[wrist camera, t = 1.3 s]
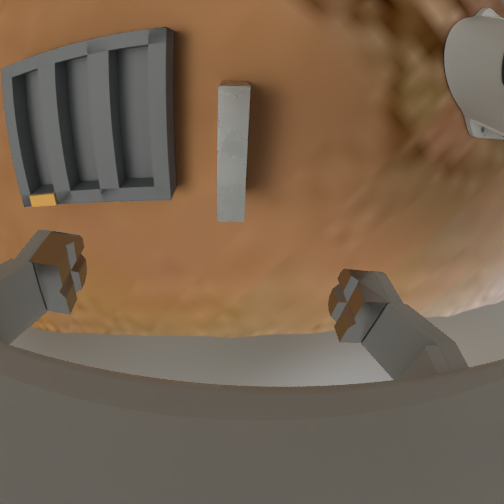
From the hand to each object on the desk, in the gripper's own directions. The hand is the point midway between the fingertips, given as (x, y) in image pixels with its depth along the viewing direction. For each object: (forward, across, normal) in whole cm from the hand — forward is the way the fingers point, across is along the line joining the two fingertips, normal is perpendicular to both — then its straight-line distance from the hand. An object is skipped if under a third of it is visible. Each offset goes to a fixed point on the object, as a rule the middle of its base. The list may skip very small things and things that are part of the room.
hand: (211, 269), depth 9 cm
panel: (+24, -1, +2) cm, 24 cm away
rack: (+24, +14, +1) cm, 28 cm away
